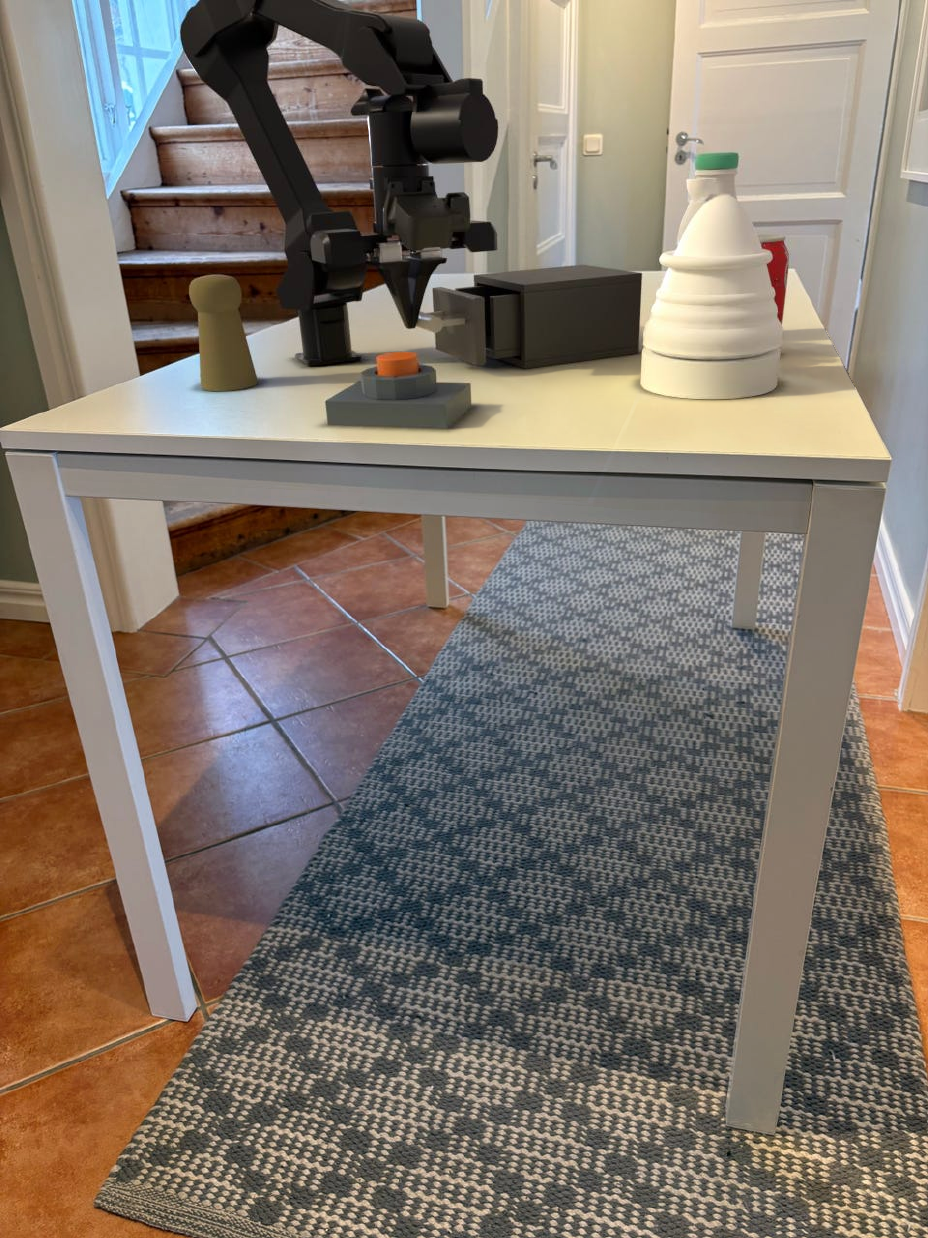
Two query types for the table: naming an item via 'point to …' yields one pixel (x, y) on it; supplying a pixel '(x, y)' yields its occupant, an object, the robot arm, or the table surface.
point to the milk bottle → (714, 168)
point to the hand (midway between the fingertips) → (410, 328)
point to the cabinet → (573, 313)
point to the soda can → (777, 268)
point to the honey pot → (713, 308)
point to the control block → (399, 401)
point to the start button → (397, 364)
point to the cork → (221, 334)
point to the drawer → (475, 322)
